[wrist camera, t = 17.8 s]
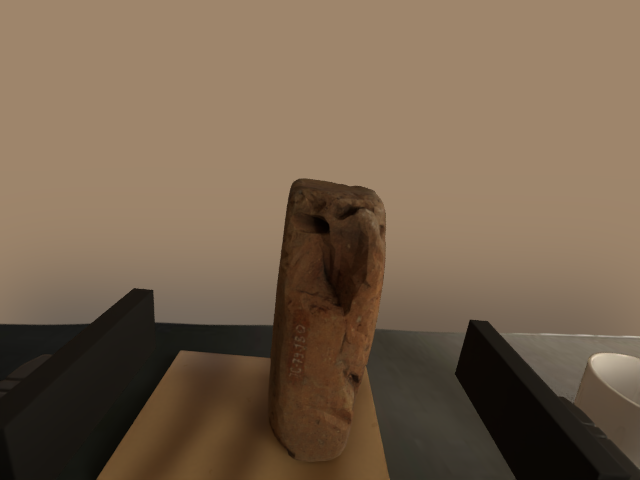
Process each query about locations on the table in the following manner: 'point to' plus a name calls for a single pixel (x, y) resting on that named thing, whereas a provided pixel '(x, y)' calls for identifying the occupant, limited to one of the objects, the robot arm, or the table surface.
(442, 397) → the table surface
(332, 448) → the block
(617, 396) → the white cup
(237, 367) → the cork mat
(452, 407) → the table surface
